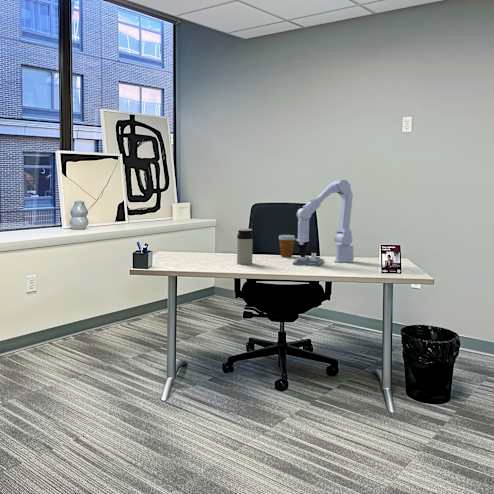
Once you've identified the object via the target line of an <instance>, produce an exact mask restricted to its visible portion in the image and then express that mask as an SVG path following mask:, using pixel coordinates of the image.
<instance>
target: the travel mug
mask: <svg viewBox="0 0 494 494" xmlns="http://www.w3.org/2000/svg"><path fill="white" fill-rule="evenodd" d="M237 231H238V233H237V235H236V238H237V239H236V241H237V242H236V244H237V245H236V263H237V264H239V265H243V266H245V265H251V264H253V242H254V240H253V234H252V231H253V228H237Z"/></svg>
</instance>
